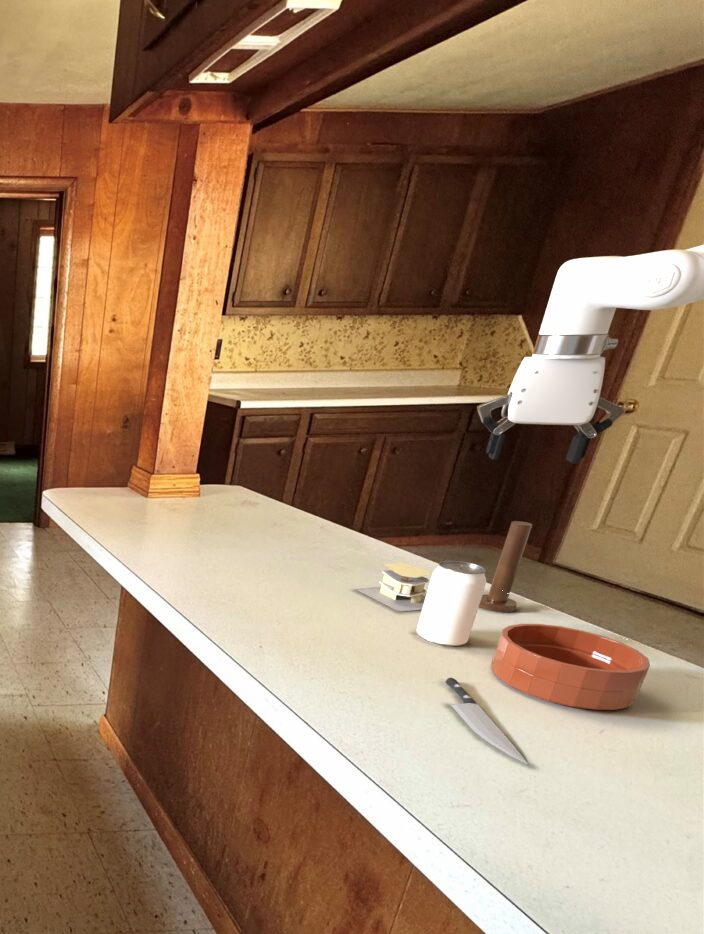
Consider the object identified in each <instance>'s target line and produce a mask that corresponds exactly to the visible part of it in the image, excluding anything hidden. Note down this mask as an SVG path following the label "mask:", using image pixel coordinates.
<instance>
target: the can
mask: <svg viewBox="0 0 704 934" xmlns="http://www.w3.org/2000/svg"><path fill="white" fill-rule="evenodd" d="M486 572H487V570H486V568H485V567H483V566H481V565H479V564H475V563H471V562H467V561H460V560H441V561H439V562H438V566H437V567H436V568H435V569H434V570H433V572H432V574H431V576H430V580H429V584H428V588H427V591H426V593H425V601H424V605H423V608H422V610H421V612H420V615H419V620H418V623H417V627H416V633H417V635H418V636H419V637H420V638H421V639H423V640H425V641H427V642H430V643H433V644H437V645H440V646H447V647H457V646H458V647H460V646H463V645H465V644H466V643H468V641H469V638H470V636H471V632H472V629H473V626H474V623H475V620H476V617H477V614H478V610H479V604H480V601H481V598H482V595H483V594H484V592H485V588H486V585H487V576H486V574H485V573H486Z"/></svg>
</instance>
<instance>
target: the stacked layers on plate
mask: <svg viewBox="0 0 704 934" xmlns="http://www.w3.org/2000/svg"><path fill="white" fill-rule="evenodd" d="M383 565H384V566H386V567H387V568H388V569H386V570H382V571H381V573H382V574H383V577H382V580H379V584H380V587H375V588H364V589H363V588H362V589H356V591H357V592H359V593H361V594H363V595H366V596H368V597H369V598H371V599H373V600H374V601H376V602H379V603H381V604H383V605H385V606H386V607H388V608H391V609H393V610H395V611H397V612H411V611H422V608H423V605H424V601H425V598H426V596H425V597H424V596H423V595H424V594H426V593H427V591H426V589H425V587H426V584H428V583H430V580H429V578H427V577H425V576H429V575H432V574H431V573H432V572H430V571H428V570H427V569H423V568H421V567H418V566H414V565H411V564H409V563H405V562H394V563H393V562H392V563H384V564H383Z"/></svg>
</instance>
